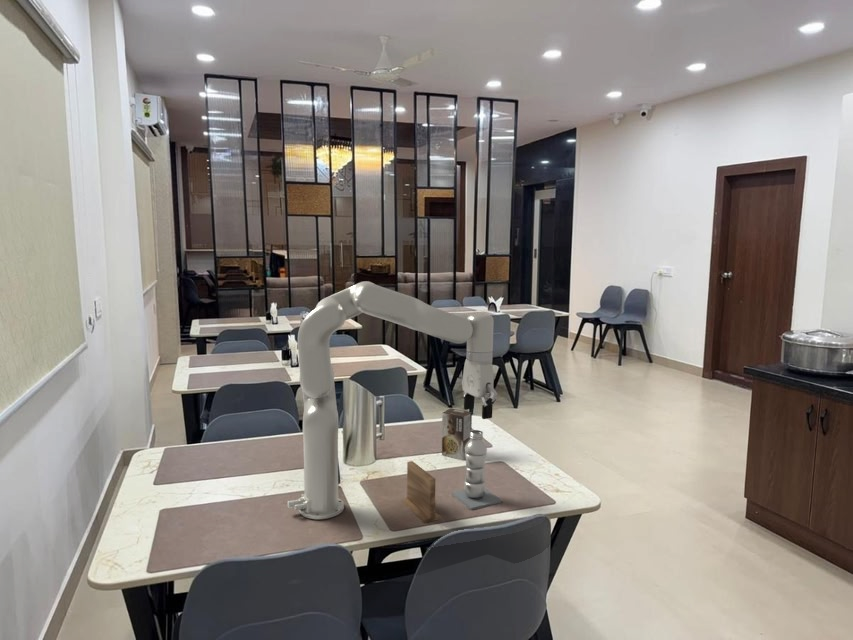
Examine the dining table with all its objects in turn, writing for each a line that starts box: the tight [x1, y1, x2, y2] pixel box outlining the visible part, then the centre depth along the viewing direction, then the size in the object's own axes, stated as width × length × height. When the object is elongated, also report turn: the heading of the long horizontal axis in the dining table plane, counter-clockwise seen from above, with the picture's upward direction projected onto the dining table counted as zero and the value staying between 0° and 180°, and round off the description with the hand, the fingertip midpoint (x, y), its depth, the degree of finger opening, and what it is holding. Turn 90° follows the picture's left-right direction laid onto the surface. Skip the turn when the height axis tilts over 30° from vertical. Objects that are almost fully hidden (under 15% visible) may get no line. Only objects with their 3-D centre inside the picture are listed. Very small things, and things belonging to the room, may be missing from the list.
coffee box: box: [441, 408, 473, 461], centre depth 201 cm, size 9×6×16 cm
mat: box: [450, 488, 503, 511], centre depth 168 cm, size 11×11×1 cm
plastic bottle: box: [463, 429, 488, 498], centre depth 167 cm, size 6×7×20 cm
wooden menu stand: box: [401, 460, 441, 523], centre depth 160 cm, size 5×14×12 cm, turn 28°
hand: (477, 413), depth 165 cm, fingers open, 9 cm apart
